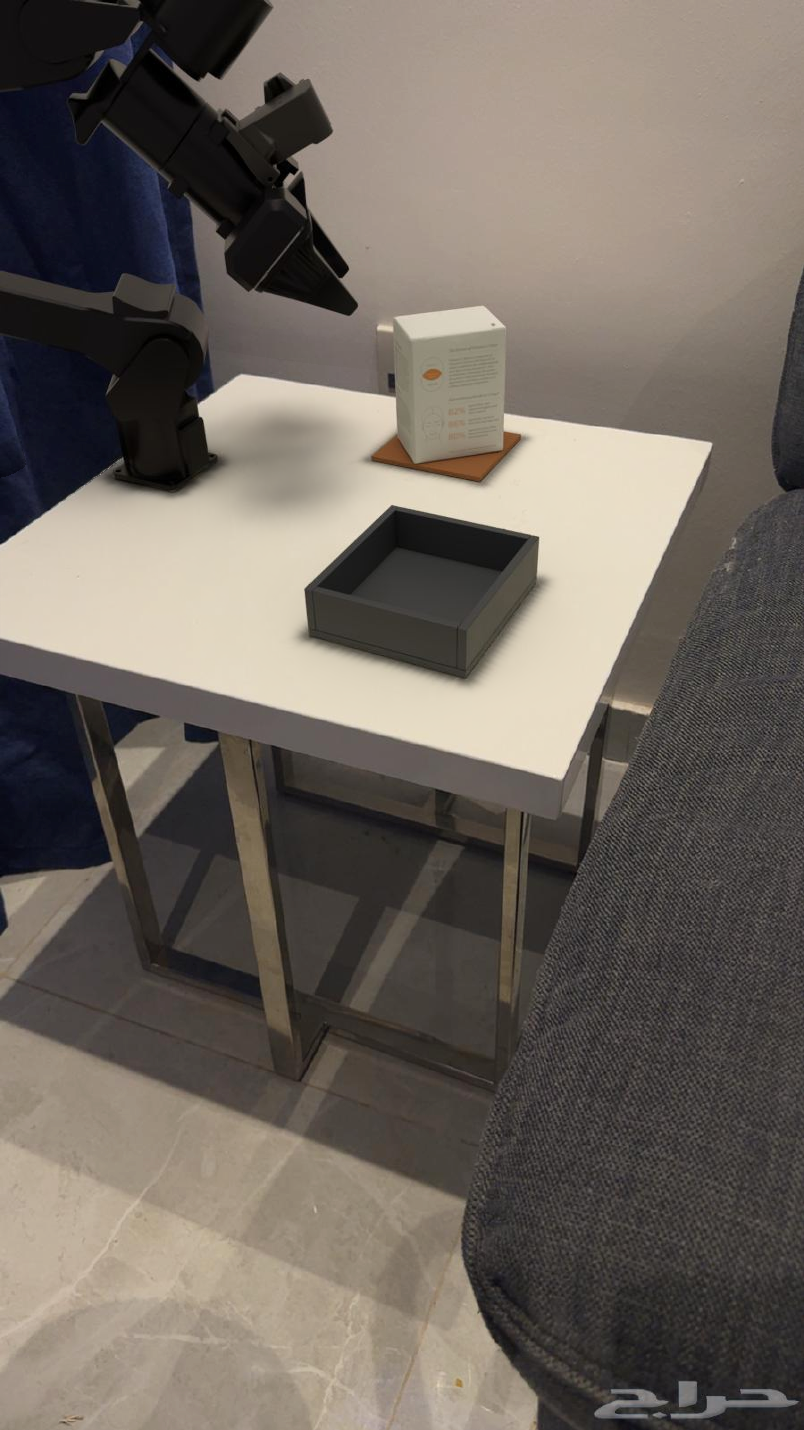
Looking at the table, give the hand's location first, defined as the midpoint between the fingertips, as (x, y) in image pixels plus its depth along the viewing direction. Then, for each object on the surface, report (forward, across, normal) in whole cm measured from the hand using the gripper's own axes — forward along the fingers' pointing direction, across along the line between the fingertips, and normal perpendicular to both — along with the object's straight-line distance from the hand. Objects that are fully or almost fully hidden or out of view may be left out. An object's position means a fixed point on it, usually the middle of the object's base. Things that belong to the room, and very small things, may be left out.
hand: (349, 291), depth 79 cm
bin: (+12, -24, +8) cm, 28 cm away
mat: (+15, 0, +4) cm, 16 cm away
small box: (+15, 0, +4) cm, 15 cm away
